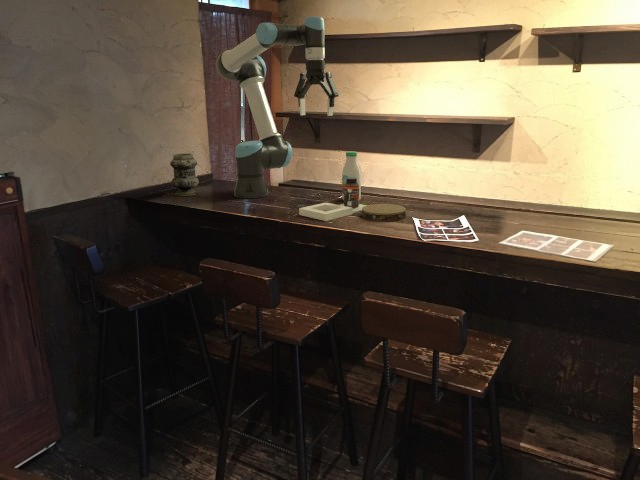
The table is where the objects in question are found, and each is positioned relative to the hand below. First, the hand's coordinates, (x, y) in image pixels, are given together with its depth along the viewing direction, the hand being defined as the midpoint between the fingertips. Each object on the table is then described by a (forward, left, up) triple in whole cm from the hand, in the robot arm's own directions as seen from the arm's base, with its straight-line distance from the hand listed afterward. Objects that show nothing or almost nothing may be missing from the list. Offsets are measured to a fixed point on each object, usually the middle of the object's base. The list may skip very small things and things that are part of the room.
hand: (316, 115), depth 212 cm
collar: (+21, -16, -35) cm, 44 cm away
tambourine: (+38, -3, -35) cm, 52 cm away
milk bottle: (+10, +10, -35) cm, 38 cm away
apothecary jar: (-55, -30, -35) cm, 72 cm away
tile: (+21, -2, -35) cm, 41 cm away
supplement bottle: (+21, -2, -34) cm, 40 cm away
